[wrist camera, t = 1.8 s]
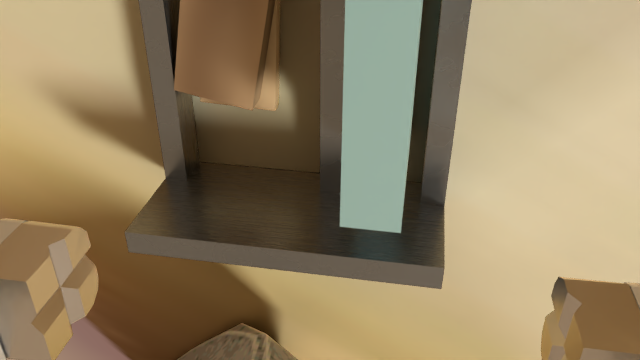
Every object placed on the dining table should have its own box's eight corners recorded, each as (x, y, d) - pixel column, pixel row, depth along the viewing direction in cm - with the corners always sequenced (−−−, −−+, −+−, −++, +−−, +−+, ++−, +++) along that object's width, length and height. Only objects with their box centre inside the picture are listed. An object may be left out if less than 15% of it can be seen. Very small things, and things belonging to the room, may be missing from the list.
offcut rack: (501, -252, 22) (522, -277, 16) (441, 203, 33) (441, 288, 27) (123, -248, 24) (21, -267, 18) (182, 178, 35) (128, 252, 29)
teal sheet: (440, -189, 24) (439, -190, 16) (411, 130, 31) (400, 233, 23) (379, -189, 24) (350, -191, 16) (364, 126, 31) (339, 226, 24)
